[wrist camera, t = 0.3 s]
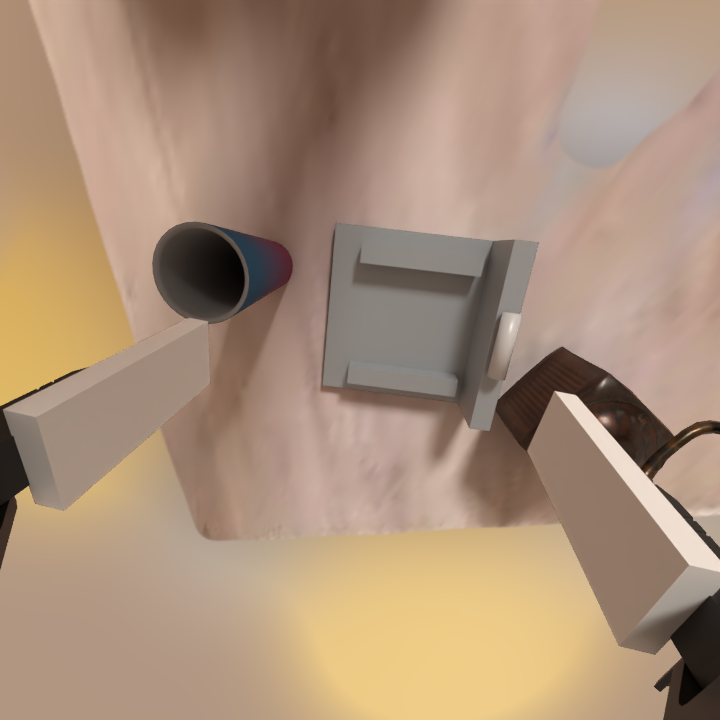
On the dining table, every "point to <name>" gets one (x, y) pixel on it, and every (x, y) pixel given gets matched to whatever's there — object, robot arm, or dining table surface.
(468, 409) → the dock
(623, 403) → the manual coffee grinder
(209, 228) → the cup
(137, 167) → the dining table surface
